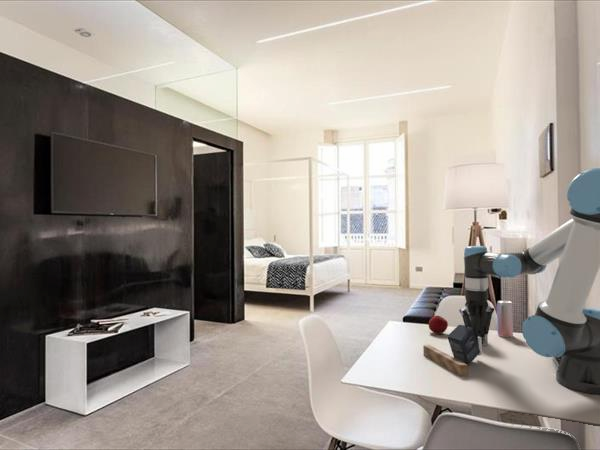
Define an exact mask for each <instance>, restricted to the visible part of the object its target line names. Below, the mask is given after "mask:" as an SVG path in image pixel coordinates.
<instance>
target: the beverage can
mask: <svg viewBox="0 0 600 450" xmlns="http://www.w3.org/2000/svg"><path fill="white" fill-rule="evenodd" d="M496 311H497V312H496V315H497V316H496V320H497V325H496V327H497V335H498V336H499V337H501V338H512V337H514V323H513V321H514V320H513V318H514V317H513V316H514V315H513V314H514V313H513V302H512V301H510V300H498V301H497V303H496Z"/></svg>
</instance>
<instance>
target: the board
mask: <svg viewBox="0 0 600 450" xmlns="http://www.w3.org/2000/svg"><path fill="white" fill-rule="evenodd" d="M422 347H423V350H422V351H423V356H425V357H427V358H428V359H430V360H432V361H434V362H435V363H437V364H439V365H440V366H442V367H444V368H446V369H447V370H449V371H451V372H452V373H454V374H456V375H458V376H460V377H465V376H468V365H467V364H465V363H463V362H461V361H459V360H457V359H456V358H454V356H452V355H450V354H447V352H444V351H443V350H440V349H438V348H436V347H434V346H432V345H431V344H424V345H423V346H422Z"/></svg>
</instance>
